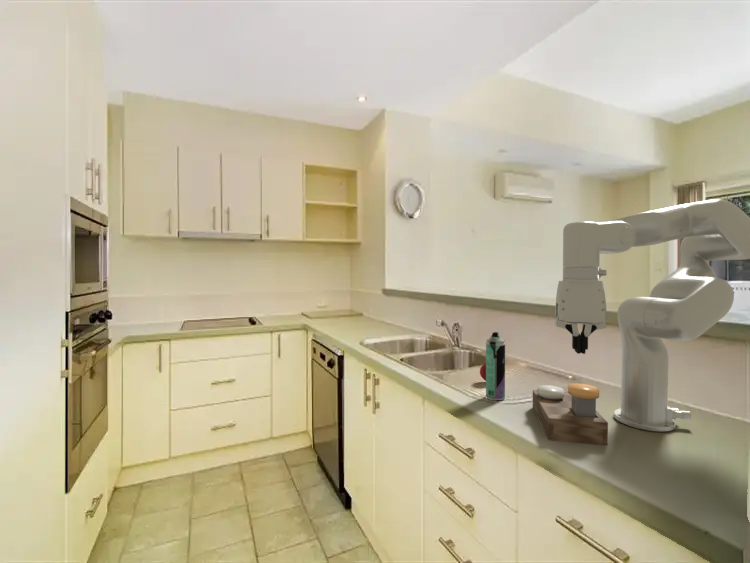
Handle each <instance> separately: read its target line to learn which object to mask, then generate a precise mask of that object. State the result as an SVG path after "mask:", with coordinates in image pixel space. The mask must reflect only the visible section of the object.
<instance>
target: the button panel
mask: <svg viewBox="0 0 750 563" xmlns="http://www.w3.org/2000/svg"><path fill="white" fill-rule="evenodd" d="M571 401H572V395H570V394H569V393H568V391H566V392H565V391H564V398H562V399H561V401H556V400H542V398H541V396H539V395H538V394H537V389H536V390H535V389H532V409H533V411H534V413H535V415H536V418H537V420H538V421H539V424H540V425H541V427H542V429H543V431H544V433H545V435H546V437H547V439H548V440H549V441H557V440H558V441H560V442H568V443H569V442H570V443H580V444H590V445H591V444H592V445H602V446H603V445H604V446H608V444H609V442H608V441H609V440H608V439H609V423H608V421H607V420H606V419H605V417H603V416H602V414H600V412H598V410H596V418H593V417H580V416H574V415H573V413H572V412H571Z"/></svg>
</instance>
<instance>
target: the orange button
mask: <svg viewBox="0 0 750 563" xmlns="http://www.w3.org/2000/svg"><path fill="white" fill-rule="evenodd" d="M567 392H568V393H569V394H570V395H572V401H571V412H572V413H573V415H574V416H580V417H593V418H596V411H597V410H596V409H597V406H596V405H597V399H599V398H600V388H599V387H597V386H595V385H591V384H587V383H576V382H574V383H569V384H567Z"/></svg>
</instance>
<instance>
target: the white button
mask: <svg viewBox="0 0 750 563" xmlns="http://www.w3.org/2000/svg"><path fill="white" fill-rule="evenodd" d="M536 390H537V394H538V395H539V396H541V398H542V400H556V401H561V399H562V398H564V392H565V390H564V389H563V388H562V387H560V386H556V385H551V384H549V385H548V384H541V385H537V387H536Z"/></svg>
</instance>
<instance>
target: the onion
mask: <svg viewBox="0 0 750 563" xmlns="http://www.w3.org/2000/svg"><path fill="white" fill-rule="evenodd" d="M479 375H480V377H481V378H482V379H483V380H484V382H486V362H485V363H483V364H482V365H481V367H480V369H479Z"/></svg>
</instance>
